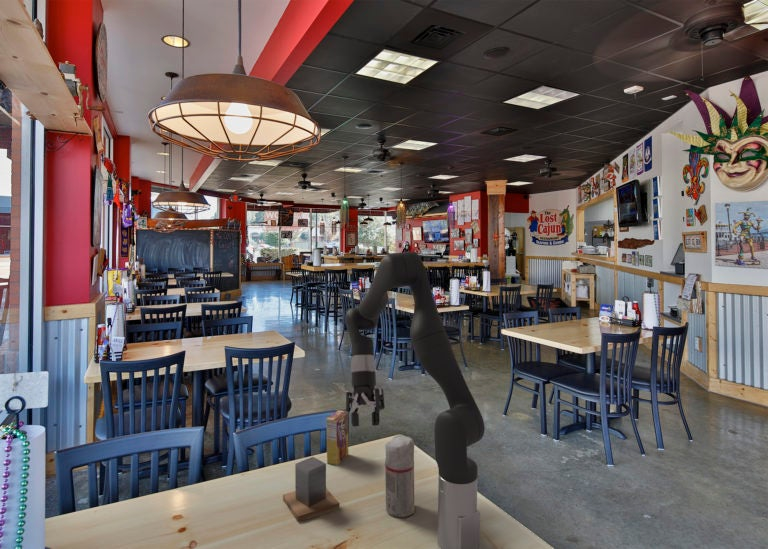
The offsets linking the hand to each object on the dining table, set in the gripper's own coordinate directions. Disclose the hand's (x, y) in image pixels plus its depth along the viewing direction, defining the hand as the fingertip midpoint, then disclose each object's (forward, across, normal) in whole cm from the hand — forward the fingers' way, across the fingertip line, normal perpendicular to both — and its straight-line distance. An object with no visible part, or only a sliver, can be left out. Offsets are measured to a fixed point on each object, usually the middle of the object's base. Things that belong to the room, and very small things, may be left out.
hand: (365, 425), depth 132 cm
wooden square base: (+20, -10, -13) cm, 26 cm away
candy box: (+10, -24, +9) cm, 28 cm away
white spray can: (+22, +10, +3) cm, 25 cm away
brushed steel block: (+18, -10, -13) cm, 24 cm away
